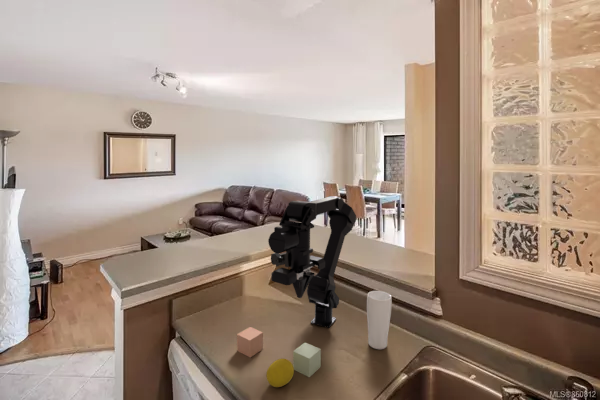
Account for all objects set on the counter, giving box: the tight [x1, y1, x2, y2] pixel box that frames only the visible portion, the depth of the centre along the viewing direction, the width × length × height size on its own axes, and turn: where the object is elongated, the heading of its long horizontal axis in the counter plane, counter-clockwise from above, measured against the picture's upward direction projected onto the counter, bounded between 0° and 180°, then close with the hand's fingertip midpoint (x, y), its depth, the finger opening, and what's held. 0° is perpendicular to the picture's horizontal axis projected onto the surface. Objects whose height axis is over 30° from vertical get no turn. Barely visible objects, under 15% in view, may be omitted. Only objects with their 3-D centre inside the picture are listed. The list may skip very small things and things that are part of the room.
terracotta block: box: [236, 326, 264, 358], centre depth 89 cm, size 5×5×5 cm
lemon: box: [266, 358, 295, 388], centre depth 76 cm, size 6×6×8 cm
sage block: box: [292, 342, 322, 378], centre depth 81 cm, size 5×5×5 cm
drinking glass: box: [366, 290, 393, 350], centre depth 91 cm, size 7×7×15 cm
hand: (299, 297), depth 93 cm, fingers closed
